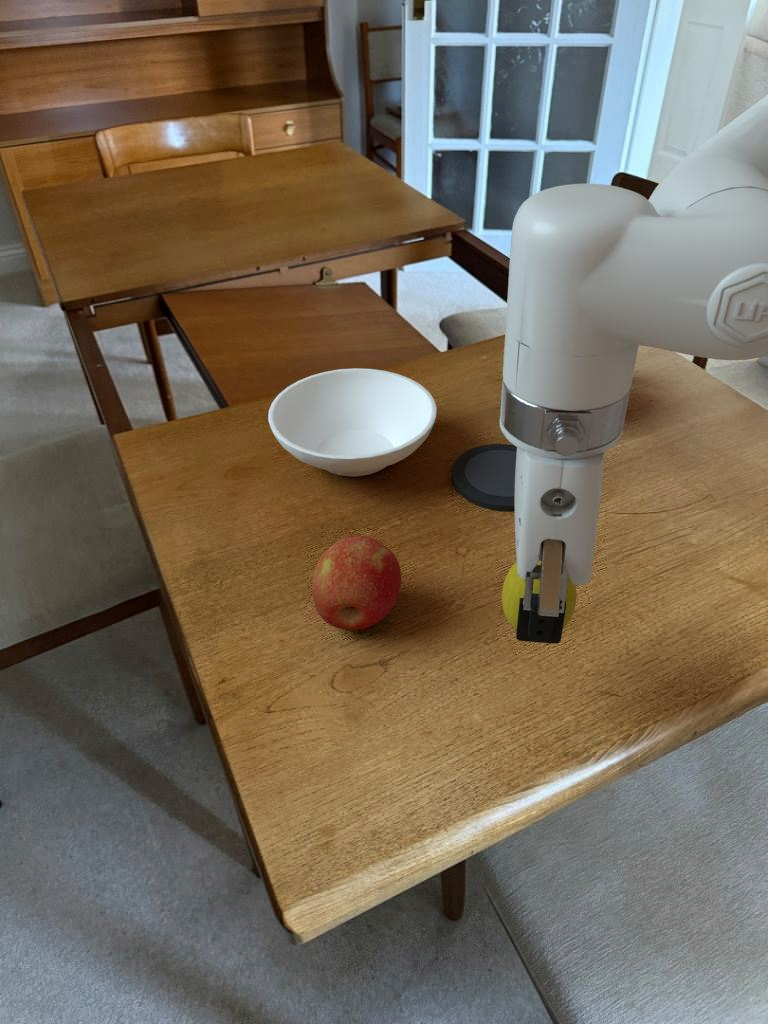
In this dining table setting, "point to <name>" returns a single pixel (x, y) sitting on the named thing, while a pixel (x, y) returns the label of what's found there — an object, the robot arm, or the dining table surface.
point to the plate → (487, 476)
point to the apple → (356, 583)
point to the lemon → (515, 591)
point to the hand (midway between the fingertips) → (537, 606)
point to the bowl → (352, 419)
